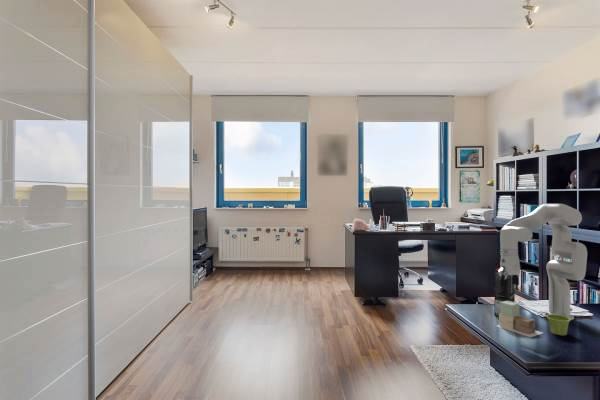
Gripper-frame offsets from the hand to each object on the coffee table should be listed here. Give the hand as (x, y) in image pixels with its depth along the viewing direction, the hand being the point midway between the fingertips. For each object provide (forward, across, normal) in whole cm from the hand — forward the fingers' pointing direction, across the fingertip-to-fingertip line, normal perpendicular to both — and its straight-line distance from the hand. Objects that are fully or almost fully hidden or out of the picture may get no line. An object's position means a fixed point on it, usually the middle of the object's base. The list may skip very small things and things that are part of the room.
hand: (509, 285), depth 177 cm
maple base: (+21, 0, 0) cm, 21 cm away
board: (+22, 0, -4) cm, 22 cm away
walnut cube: (+21, 0, -8) cm, 22 cm away
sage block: (+15, 0, 0) cm, 15 cm away
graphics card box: (+22, +18, +14) cm, 32 cm away
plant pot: (+22, +12, -16) cm, 30 cm away
